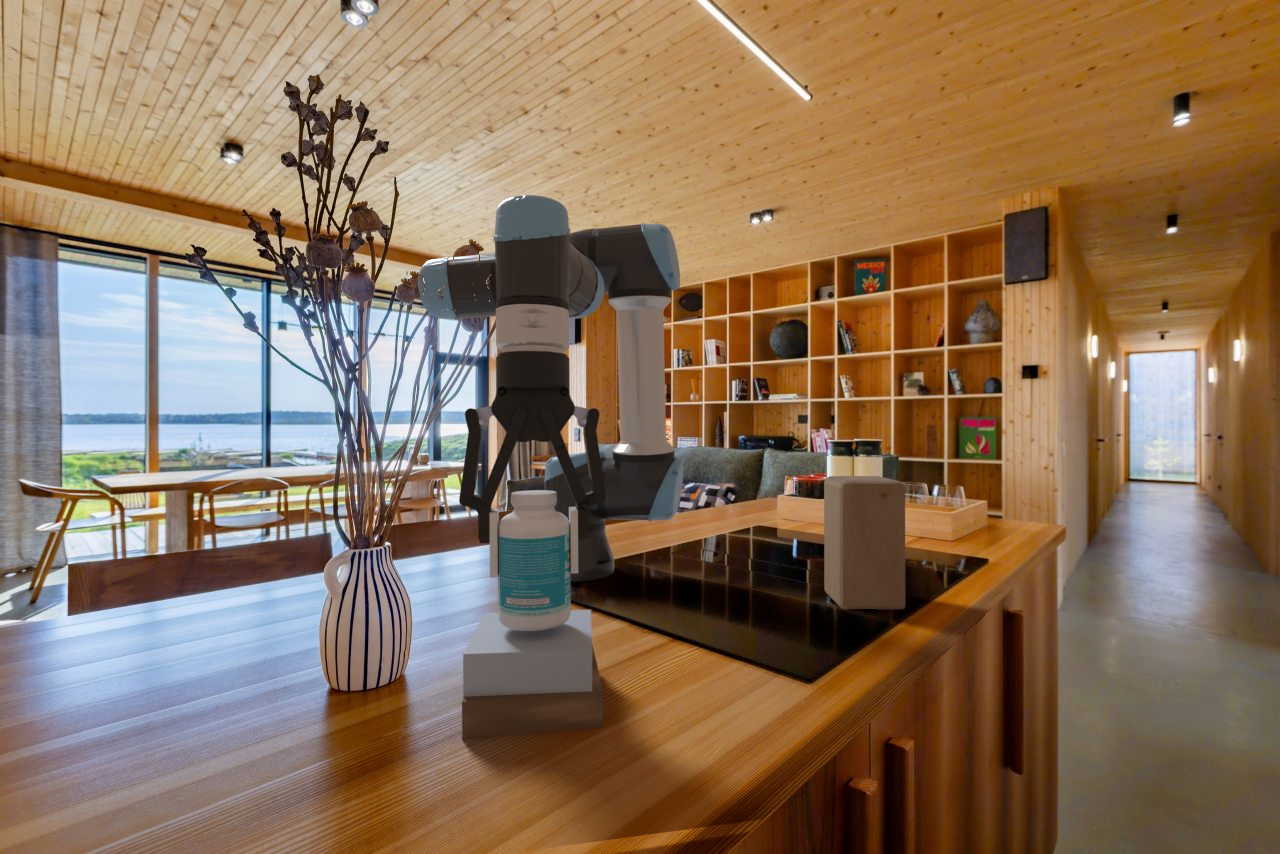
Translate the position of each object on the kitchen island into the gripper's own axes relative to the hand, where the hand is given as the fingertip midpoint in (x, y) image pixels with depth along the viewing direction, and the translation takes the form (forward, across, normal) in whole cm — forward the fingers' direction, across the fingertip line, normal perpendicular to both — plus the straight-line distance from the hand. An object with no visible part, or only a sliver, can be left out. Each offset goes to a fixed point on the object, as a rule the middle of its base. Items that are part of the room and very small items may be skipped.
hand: (534, 571), depth 61 cm
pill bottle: (+5, 0, 0) cm, 5 cm away
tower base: (+14, 0, 0) cm, 14 cm away
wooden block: (+14, +52, +24) cm, 59 cm away
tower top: (+10, 0, 0) cm, 10 cm away
